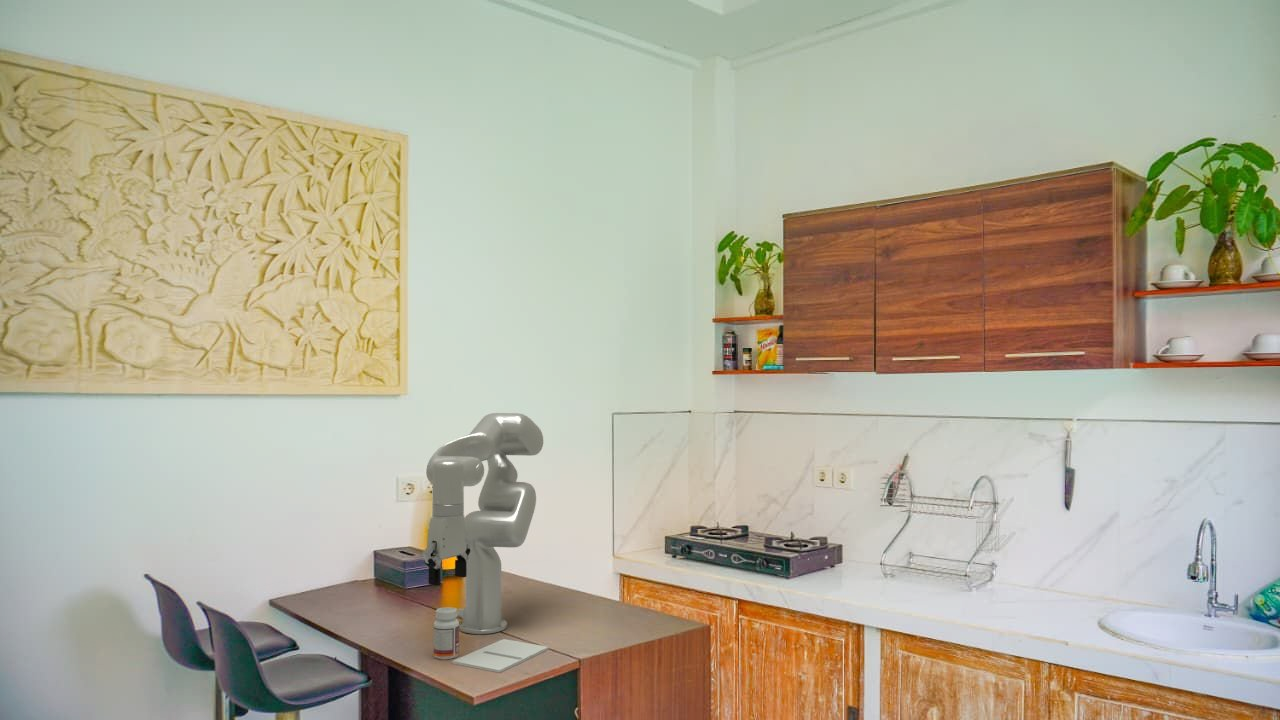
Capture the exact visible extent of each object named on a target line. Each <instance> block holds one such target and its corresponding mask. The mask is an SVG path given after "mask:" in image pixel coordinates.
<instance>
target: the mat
mask: <svg viewBox="0 0 1280 720" xmlns="http://www.w3.org/2000/svg"><path fill="white" fill-rule="evenodd" d="M549 649H550V647H549V646H545V645H539V644H534V643H528V642H522V641H516V640H512V639H506V638H503V639H500V640H497V641H496V642H494V643H492V644H489V645H487V646H484V647H482V648H479V649H477V650H475V651H473V652H470V653H467V654H466V655H465V654H464V655H463V656H461V657H457V659H454V660H452V662H451V663H452V665H453V664H454V665H459V666H463V667H468V668H474V669H479V670H484V671H488V672H493V673H494V672H495V673H498V674H500V673H502V672H504V671H506V670H508V669H511V668H513V667H514V666H517V665H519V664H521V663H524V662H525V661H527V660H529V659H531V658H534V657H535V656H539V655H540V654H543V653H544V652H547V651H548V650H549Z"/></svg>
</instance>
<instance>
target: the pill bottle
mask: <svg viewBox="0 0 1280 720" xmlns="http://www.w3.org/2000/svg"><path fill="white" fill-rule="evenodd" d="M457 612H458V609H457V608H456V607H452V606H451V607H450V606H446V607H445V606H444V607H440V608H439V607H438V608H437V609H435V619H436V620H435V621H434V622H433V657H434V659H435V658H436V659H438V660H451V659H455V658H458V656H459V654H460V622H459V619H457V618H458V617H457Z"/></svg>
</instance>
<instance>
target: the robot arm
mask: <svg viewBox="0 0 1280 720" xmlns="http://www.w3.org/2000/svg"><path fill="white" fill-rule="evenodd" d="M543 446H544V436H543V432H542V430H541V428H540V427H539V426H538V424H536V423H535V422H534V421H533V420H532V418H530V417H528V416H527V415H525V414H523V413H518V412H517V413H516V412H515V413H514V412H492V413H488V414H487V415H485V416H483V417H482V418H481V420H479V422H478V423H477V424H476V426H475V427H474V428H472V430H471V431H470V433H469V434H467V435H464V436H462V437H458V438H456V439H454V440H452V441H449V442H447V443H445V444H443V445H441V446H440V447H439V448H438V449H437V450H436V451H434V453H432V456H431V457H430V459H429V461H428V463H427V465H426V472H425V473H426V478H427V480H428V481H429V483H431V485H432V497H431V498H432V516H431V517H430V519H429V524H428V530H427V538H426V548H425V549H424V550H423V551H421V555H422V558H423V561H424V564H425V565H426V568H427V569H428V584H429V585H430V586H431V585H433V586H441V570H442V569H441V568H439V567H440V565H441V563H442V561H443V560H447V559H451V558H456V559H455V560H454V576H455V577H460V578H465V608H461V607H460V608H458V609H457V617H456V618H460V619H462V622H461V623H459V631H461V632H464V633H467V634H472V635H488V634H493V633H494V634H495V633H498V632H501V631H504V630H506V629H507V627H508V622H507V621H506V620H505V619H502V561H501V558H500V555H499V554H498V552H497V550H496V549H495V548H519V547H520V546H522V545H523V544H524V542H525V540H526V539H527V535H528V532H529V529H530V526H531V522H532V520H533V516H534V513H535V510H536V504H537V494H536V490H535V487H534V486H533V485H532V484H531V483H528V482H525V481H518V470H517V469H516V467H515V465H514V464H513V462H511V460H510V459H509V458H508V456H526V457H527V456H528V457H529V456H537V455H538V454H539V453H541V451H542V449H543ZM483 462H487V466H488V469H487V474H486V477H485V479H484V475H485V467H484V464H483ZM483 479H484V483H483V485H482V487H481V489H480V490H481V491H480V493H479V496H478V499H477V500H478V501H477V504H478V509H479V510H475V511H474V510H473V511H471V512H469V513H468V514H467V515H466V516H465V513H464V512H465V511H464V510H465V507H464V503H465V502H464V498H465V497H464V496H465V493H464V491H465V488H464V487H475V486H477V485H478V484H480V483H481V481H482V480H483Z"/></svg>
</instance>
